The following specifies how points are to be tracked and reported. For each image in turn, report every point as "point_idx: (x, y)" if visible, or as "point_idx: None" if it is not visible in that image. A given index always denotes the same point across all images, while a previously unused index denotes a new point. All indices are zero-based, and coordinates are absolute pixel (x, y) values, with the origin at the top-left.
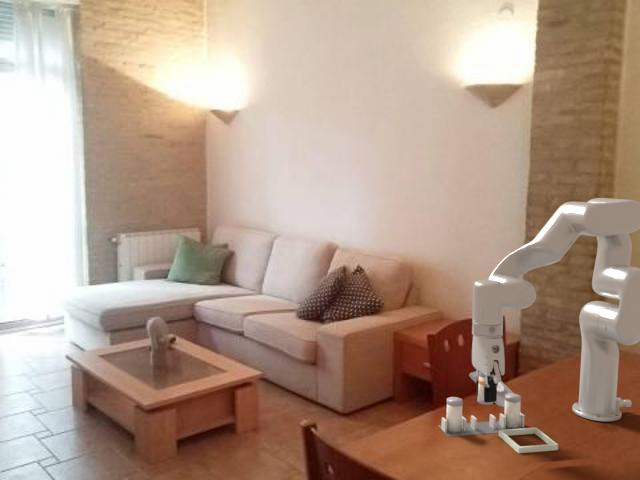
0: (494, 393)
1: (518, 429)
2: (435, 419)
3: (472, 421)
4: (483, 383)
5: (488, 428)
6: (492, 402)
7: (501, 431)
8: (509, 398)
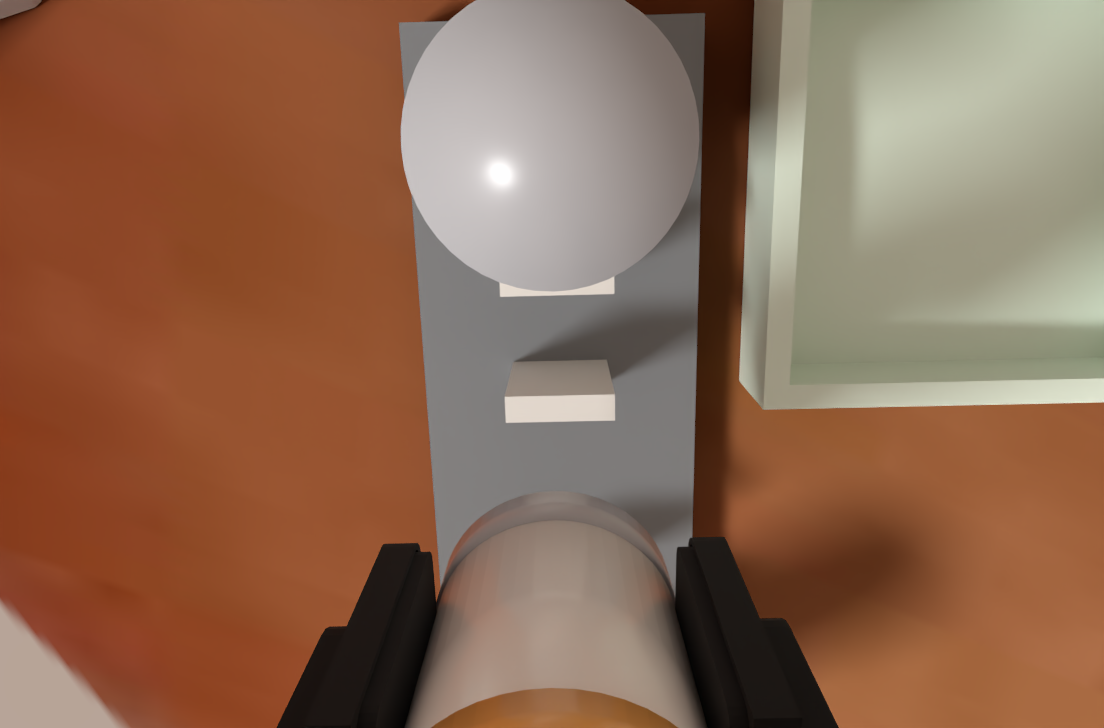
0: (813, 688)
1: (794, 192)
2: (252, 721)
3: None
4: None
5: (588, 423)
6: (650, 543)
7: (800, 396)
8: (637, 258)
